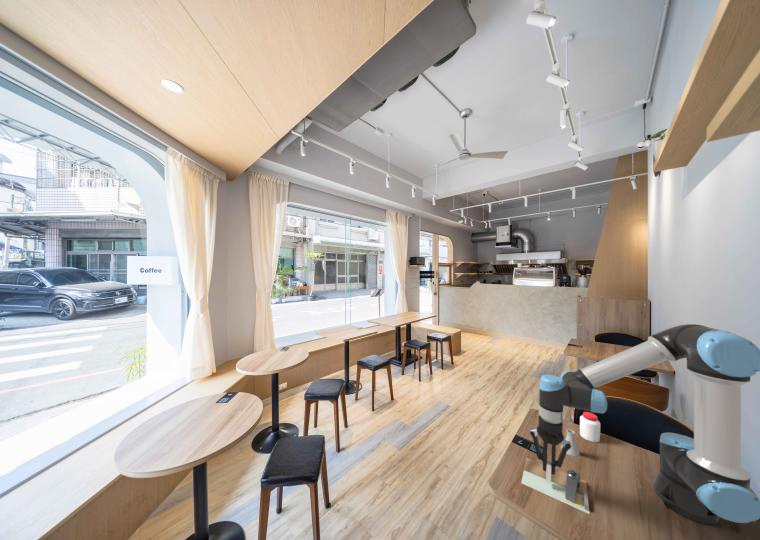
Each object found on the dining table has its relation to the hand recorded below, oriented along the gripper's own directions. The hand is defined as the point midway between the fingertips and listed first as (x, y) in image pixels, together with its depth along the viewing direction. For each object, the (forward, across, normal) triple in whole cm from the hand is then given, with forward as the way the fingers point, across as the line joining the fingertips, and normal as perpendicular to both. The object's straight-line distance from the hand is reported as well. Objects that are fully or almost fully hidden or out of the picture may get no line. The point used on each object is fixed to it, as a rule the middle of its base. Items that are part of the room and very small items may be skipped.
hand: (548, 480), depth 95 cm
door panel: (+3, -2, +1) cm, 4 cm away
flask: (+3, -7, -28) cm, 29 cm away
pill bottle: (+3, -15, -48) cm, 51 cm away
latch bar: (+2, -7, -3) cm, 8 cm away
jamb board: (+3, -2, -7) cm, 8 cm away
